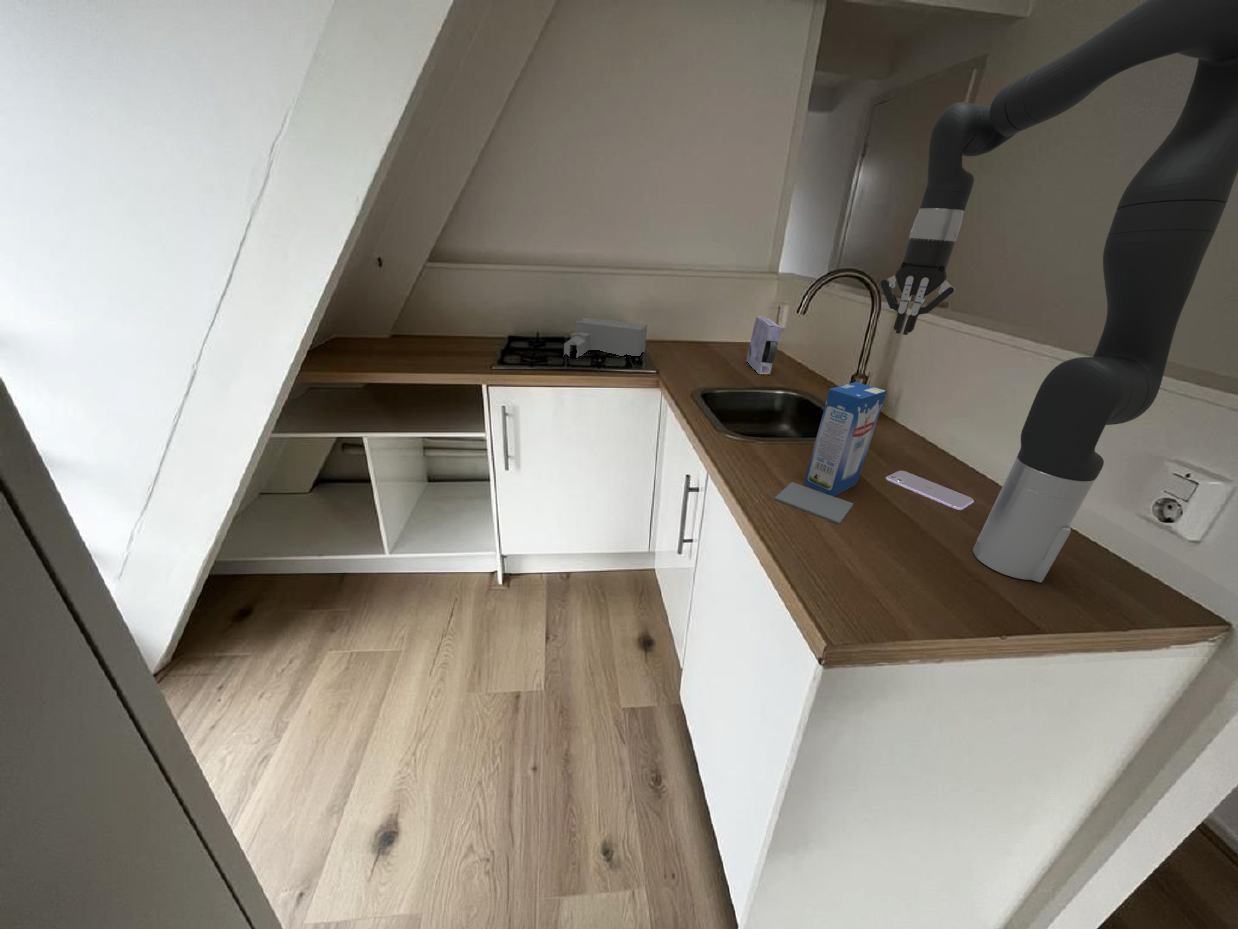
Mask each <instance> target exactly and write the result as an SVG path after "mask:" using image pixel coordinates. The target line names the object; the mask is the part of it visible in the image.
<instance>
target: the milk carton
mask: <svg viewBox="0 0 1238 929" xmlns="http://www.w3.org/2000/svg"><path fill="white" fill-rule="evenodd" d="M828 390H829V391H828V394H827V398H826V401H825V405H824V408H823V413H822V415H821V420H820V424H819V427H818V431H817V434H816V437H815V440H814V445H813V449H812V453H811V457H810V459H809V460H810V461H809V464H808V467H807V471H806V474H805V478H804V483H803V484H804V485H806V486H807V487H809V488H811V489H814V490H816V491H819V492H822V493H825V494H828V495H831V496H833V497H836V495H838V494H841V493H842V492H844V491H846V490H848V489H850V488H852V487H854V486H856V485H857V484H858V481H859V478H860V474H861V471H862V468H863V465H864V462H865V459H866V456H867V453H868V450H869V447H870V444H871V442H872V439H873V438H872V437H873V435H874V432H875V429H876V426H877V423H878V419H879V416H880V414H881V410H882V407H883V404H884V402H885V401H884V400H885V398H886V395H887V392H888V390H885V389H882V388H878V387H875V386H872V385H867V384H864V383H860V382H856V381H855V382H851V383H847V384H844V385H843V384H842V385H838V386H835V387H833V388H831V387H830V388H829V389H828Z"/></svg>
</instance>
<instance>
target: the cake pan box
mask: <svg viewBox="0 0 1238 929" xmlns="http://www.w3.org/2000/svg"><path fill="white" fill-rule="evenodd" d="M781 332H782V326H780V325H779V324H777V323H776V322H775V321H773V320H772V319H770V318H768V317H765V316H758V315H757V316H755V321H754V325H753V330H752V333H751V338H750V342H749V346H748V351H747V356H746V360H745V363H746V362H748V363H749V364H750V366H751V367H752V368H754V369H755V370H756V372H757V373H758V374H770V375H771V372H772V367H773V363H774V360H775V358H776V355H777V350H778V345H779V344H778V343H779V341H780V336H781ZM748 363H747V364H748ZM749 364H748V365H749ZM750 366H749V367H750ZM751 367H750V368H751ZM756 372H755V373H756ZM757 373H756V374H757Z"/></svg>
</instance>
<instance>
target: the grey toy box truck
mask: <svg viewBox="0 0 1238 929" xmlns="http://www.w3.org/2000/svg"><path fill="white" fill-rule="evenodd" d="M574 327H575V329H574V330H575V331H574V332H573V333H571V334H570V339H568V340H567V341H566V342H564V343H563V356H564V355H565V354H567V355H568V356H569V357H571V356H570V354H571V353H570V352H571V351H573V350H577V353H575V354H576V356H575V358H578V357H579V356H582V355H583V354H584V353H586V352H587V351H588V350H600V351H603V352H607V353H612V354H616V355H619V356H624V355H626V354H627V355H631V356H640V355H641V353H642V352H645V351H646V342H647V341H646V340H647V329H648V325H647V324H642V323H641V324H640V323H633V322H624V321H619V320H618V321H617V320H608V319H602V318H601V319H600V318H594V317H593V318H592V317H583V318H581V319H579V320H577V321H575V326H574ZM645 353H646V352H645ZM583 356H584V355H583ZM583 356H582V357H583ZM619 356H618V357H619Z"/></svg>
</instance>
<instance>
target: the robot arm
mask: <svg viewBox="0 0 1238 929" xmlns="http://www.w3.org/2000/svg"><path fill="white" fill-rule="evenodd" d="M1174 54H1179V55H1182V56H1186V57H1189V58H1192V59H1193V58H1194V59H1198V60H1197V65H1196V71H1195V74H1194V78H1193V81H1192V84H1191V87H1190V90H1189V93H1188V94H1187V98H1186V101H1185V104H1184V107H1183V109H1182V111H1181V113H1180V115H1179V118H1178V119H1177V121H1176V123H1175V125H1174V126H1173V128H1172V129H1171V131H1170V133H1169V134H1168V135H1167V136H1166V138H1165V139H1164V140H1163V142H1162V143H1161V144H1160V145H1159V146H1158V147H1157V149H1156V150H1155V151H1154V152H1153V154H1151V155H1150V157H1149V158H1148V159H1147V160H1146V162H1145V163H1144V164H1143V165H1142V166H1141V167H1140V169H1139V170H1138V171H1137V172H1136V174H1135V175H1134V176H1133V178H1132V179H1131V181H1130V182H1129V183H1128V185H1127V186H1126V188H1125V189H1124V191H1123V193H1122V194H1121V197H1120V200H1119V202H1118V204H1117V207H1116V210H1115V214H1114V216H1113V218H1112V222H1111V225H1110V228H1109V232H1108V234H1107V237H1106V240H1105V243H1104V247H1103V253H1102V268H1103V269H1102V270H1103V272H1102V273H1103V280H1104V288H1105V294H1106V296H1105V297H1106V305H1107V306H1106V307H1107V309H1106V311H1107V312H1106V319H1105V323H1104V327H1103V330H1102V333H1101V336H1100V339H1099V341H1098V344H1097V346H1096V349H1095V350H1094V354H1093V355H1092V356H1083V357H1082V356H1081V357H1075V358H1071V359H1068V360H1065V361H1063V362H1061V363H1060V364H1058V365H1056V366H1055V367H1054V368H1052V370H1051V371H1050V372H1049V373H1048V374H1047V375H1046V377H1045V378H1044V380H1043V381H1042V383H1041V384H1040V386H1039V388H1038V390H1037V392H1036V394H1035V397H1034V399H1033V402H1032V404H1031V407H1030V409H1029V412H1028V414H1027V417H1026V418H1025V419H1026V420H1025V421H1024V424H1023V426H1022V429H1021V434H1020V449H1019V451H1018V454H1017V456H1016V457H1015V460H1014V461H1013V464H1012V466H1011V468H1010V471H1009V472H1008V475H1007V477H1006V479H1005V481H1004V483H1003V485H1002V487H1001V489H1000V491H999V493H998V495H997V498H996V500H995V501H994V503H993V506H992V508H991V510H990V512H989V514H988V517H987V518H986V521H985V523H984V525H983V527H982V530H981V531H980V533H979V535H978V537H977V539H976V542H975V543H974V544H975V545H974V546H973V549H972V553H973V554H974V556H975V558H976V559H977V560H978V561H979V562H981V564H984V565H985V566H987V567H988V568H990V569H991V570H993V571H996V572H998V573H1000V574H1002V575H1005V576H1009V577H1011V578H1015V579H1021V580H1026V581H1033V582H1037V583H1042V584H1043V581H1044V580H1045V578H1046V576H1047V574H1048V573H1049V570H1050V569H1051V567H1052V565H1053V564H1054V562H1055V560H1056V558H1057V557H1058V555H1059V553H1060V551H1061V550H1062V548H1063V546H1064V544H1065V543H1066V541H1067V539H1068V538H1069V536H1070V535H1071V533H1072V530H1071V529H1072V528H1071V524H1072V522H1073V521H1074V518H1075V517H1076V515H1077V513H1078V511H1079V509H1080V508H1081V506H1082V504H1083V502H1084V500H1085V499H1086V497H1087V495H1088V494H1089V492H1090V490H1091V489H1092V487H1093V485H1094V483H1095V481H1096V480H1097V478H1098V476H1099V475H1100V473H1101V471H1102V469H1103V467H1104V464H1105V462H1104V458H1103V457H1102V456H1101V454H1099V453H1097V452H1096V446H1097V444H1098V442H1099V441H1100V438H1101V436H1102V434H1103V432H1104V430H1105V427H1106V426H1111V425H1112V426H1113V425H1120V424H1121V425H1122V424H1125V423H1128V422H1131V421H1133V420H1135V419H1138V418H1139V417H1140V416H1142V415H1143V414H1144V413H1145V412H1147V410H1149V408H1150V407H1151V406H1152V404H1154V402H1155V400H1156V398H1157V396H1158V394H1159V391H1160V388H1161V385H1162V381H1163V377H1164V374H1165V370H1166V367H1167V363H1168V357H1169V354H1170V350H1171V346H1172V343H1173V339H1174V335H1175V332H1176V328H1177V326H1178V322H1179V319H1180V317H1181V314H1182V313H1183V312H1182V311H1183V308H1184V306H1185V304H1186V302H1187V300H1188V297H1189V295H1190V293H1191V291H1192V288H1193V285H1194V283H1195V280H1196V277H1197V275H1198V272H1199V270H1200V267H1201V264H1202V262H1203V259H1204V257H1205V255H1206V253H1207V251H1208V248H1209V246H1210V243H1211V241H1212V240H1213V237H1214V235H1215V233H1216V231H1217V228H1218V226H1219V223H1220V221H1221V218H1222V216H1223V213H1224V211H1225V207H1226V206H1227V203H1228V200H1229V197H1230V196H1231V195H1230V194H1231V191H1232V189H1233V185H1234V182H1235V180H1236V177H1237V174H1238V0H1145V1H1144V2H1142V3H1141V4H1139V5H1138V6H1136V7H1135V8H1133V9H1132V10H1131V11H1129V12H1128V13H1126V14H1124V15H1123V16H1122V17H1120V18H1119V19H1116V20H1115V21H1114V22H1113V23H1111V24H1110V25H1109V26H1107V27H1105V28H1104V29H1103V30H1101V31H1100V32H1098V33H1097V34H1094V35H1093V36H1092V37H1090V38H1088V39H1087V40H1086V41H1084V42H1083V43H1081V44H1079V45H1078V46H1076V47H1075V48H1073V49H1071V50H1069V51H1068V52H1066V53H1065V54H1062V55H1061V56H1059V57H1057V58H1055V59H1053V60H1052V61H1050V62H1048V63H1046V64H1044V65H1041V66H1040V67H1038V68H1036V69H1034V70H1032V71H1030V72H1029V73H1027V74H1025V75H1023V76H1021V77H1019V78H1017V79H1016V80H1013V81H1012V82H1009V83H1008V84H1007V85H1006V86H1004V87H1003V88H1002V89H1000V91H999V92H997V93H996V95H995V97H994V98H993V99H992V102H991V103H990V105H982V104H978V103H977V104H976V103H971V102H964V101H961V102H959V101H958V102H955V103H952V104H951V105H949V106H948V107H947V108H946V109H945V110H943V112H942V113H941V114H940V115H939V117H938V118H937V120H936V121H935V124H934V126H933V128H932V131H931V134H930V138H929V146H928V161H927V163H928V165H927V183H926V187H925V191H924V193H923V197H922V200H921V203H920V206H919V209H918V211H917V212H918V213H917V215H916V216H915V219H914V222H913V225H912V228H911V230H910V231H909V237H908V241H907V244H906V247H905V251H904V254H903V258H902V261H901V264H900V266H899V268H897V270H896V272H895V273H894V275H893V276H890V277H888V278H885V279H882V280H881V281H880V283H879V285H880V286H881V289H882V291H883V294H884V297H885V299H886V302H887V304H888V307H889V309H890V310H894V311H895V312H897V314H896V318H895V321H894V325H893V330H894V331H895V334H898V335H900V334H902V335H904V336H908V335H909V334H910V333H912V332H913V331H914V330H915V326H916V325H917V324H916V323H917V320H918V318H919V316H920V315H925V314H928V313H931V312H932V311H933V310H934V309H936V308H937V307H938V306H939V305H941V304H942V303H943V302H944V301H945V300H946V299H948V298H949V297H951V296H952V295H953V294H954V293H955V292H956V287H955V286H952V285H951V284H950V283H949V282H948V281H947V278H948V277H947V268H948V265H949V262H950V259H951V256H952V253H953V251H954V247H955V245H956V242H957V238H958V236H959V232H960V229H961V227H962V223H963V219H964V218H963V217H964V214H965V210H966V207H967V204H968V201H969V198H970V195H971V192H972V189H973V186H974V182H975V177H974V175H973V174H972V173H971V172H970V171H967V170H966V169H965V168H964V167H963V157H978V156H981V155H984V154H987V153H989V152H992V151H993V150H995V149H997V148H998V147H1000V146H1001V145H1003V144H1004V143H1005V142H1006V143H1007V141H1008V140H1010V139H1012V138H1013V137H1014V136H1016V135H1017V134H1018V133H1020V132H1022V131H1024V130H1027V129H1029V128H1031V127H1035V126H1036V125H1039V124H1041V123H1043V122H1046V121H1048V120H1051V119H1053V118H1055V117H1057V116H1059V115H1061V114H1062V113H1064V112H1066V111H1068V110H1071V108H1073V107H1075V106H1077V105H1078V104H1079V103H1081V102H1082V101H1083V100H1084V99H1085V98H1086V97H1088V96H1089V95H1090V94H1092V92H1094V91H1095V90H1096V89H1097V88H1098V87H1099V86H1101V85H1102V84H1103V83H1105V82H1106V81H1108V80H1110V79H1112V78H1113V77H1115V76H1116V75H1119V74H1121V73H1122V72H1125V71H1126V70H1129V69H1131V68H1134V67H1136V66H1138V65H1141V64H1145V63H1148V62H1151V61H1155V60H1158V59H1161V58H1163V57H1168V56H1171V55H1174ZM896 282H897V285H898V287H899V290H900V292H901V293H902V294H901V297H900V303H899V301H898V299H897V296H896V293H895V291H894V288H895V287H896ZM938 288H940V289H939V290H938V294H939V295H938V296H936V297H935V298H934V299H933V300H932V301H930V302H929V303H928V304H927V305H926V306H923V304H924V303H925V300H926V297H927V296H929V295H930V294H932V293H933V292H934V291H935V290H937V289H938ZM912 296H915V298H914V301H913V304H912V308H911V311H910V314H908V313H907V311H908V309H909V305H910V301H911V300H912ZM907 316H908V317H907ZM903 328H904V329H903ZM902 331H903V332H902Z"/></svg>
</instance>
